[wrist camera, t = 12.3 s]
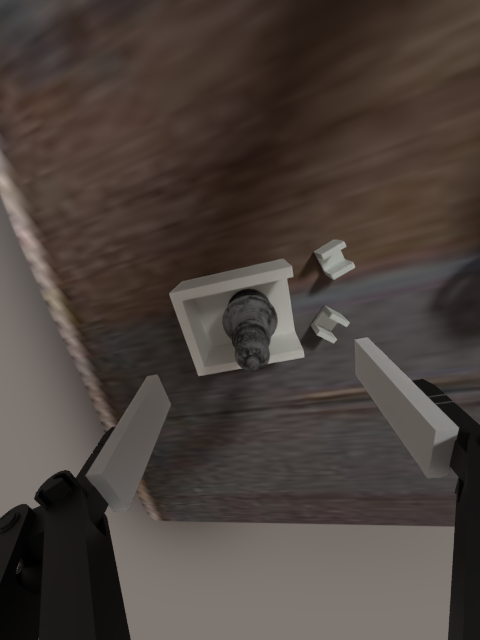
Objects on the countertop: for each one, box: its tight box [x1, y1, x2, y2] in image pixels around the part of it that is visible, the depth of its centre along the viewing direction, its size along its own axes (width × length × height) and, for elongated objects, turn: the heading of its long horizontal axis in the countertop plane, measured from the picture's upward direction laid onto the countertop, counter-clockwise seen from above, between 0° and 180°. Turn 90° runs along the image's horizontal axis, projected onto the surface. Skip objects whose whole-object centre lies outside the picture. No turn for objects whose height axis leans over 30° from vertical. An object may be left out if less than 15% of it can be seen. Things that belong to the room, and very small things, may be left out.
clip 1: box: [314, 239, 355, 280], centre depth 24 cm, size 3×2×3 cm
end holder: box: [169, 259, 304, 376], centre depth 26 cm, size 10×12×5 cm
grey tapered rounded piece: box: [222, 289, 278, 372], centre depth 22 cm, size 6×6×12 cm
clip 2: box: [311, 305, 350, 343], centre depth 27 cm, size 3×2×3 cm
